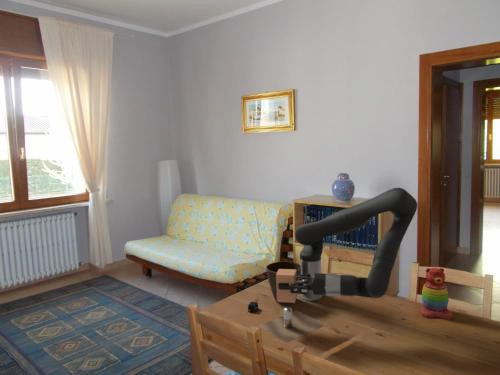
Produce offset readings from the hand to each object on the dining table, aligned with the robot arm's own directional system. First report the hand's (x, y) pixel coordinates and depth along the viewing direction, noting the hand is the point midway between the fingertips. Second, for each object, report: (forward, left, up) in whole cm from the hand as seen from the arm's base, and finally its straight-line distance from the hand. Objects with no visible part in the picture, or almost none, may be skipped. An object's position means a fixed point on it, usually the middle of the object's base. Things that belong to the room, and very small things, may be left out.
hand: (280, 282), depth 139 cm
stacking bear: (-54, +29, -18) cm, 63 cm away
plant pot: (-17, -17, -18) cm, 30 cm away
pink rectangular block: (-2, +2, -6) cm, 6 cm away
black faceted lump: (0, -18, -19) cm, 26 cm away
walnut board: (-4, +2, -18) cm, 18 cm away
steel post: (-2, +2, -17) cm, 17 cm away
